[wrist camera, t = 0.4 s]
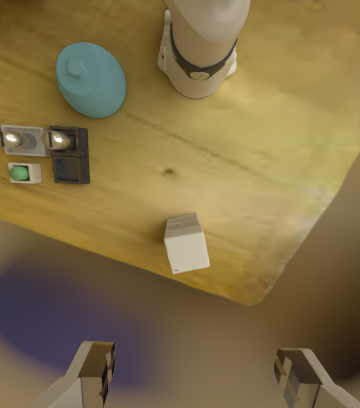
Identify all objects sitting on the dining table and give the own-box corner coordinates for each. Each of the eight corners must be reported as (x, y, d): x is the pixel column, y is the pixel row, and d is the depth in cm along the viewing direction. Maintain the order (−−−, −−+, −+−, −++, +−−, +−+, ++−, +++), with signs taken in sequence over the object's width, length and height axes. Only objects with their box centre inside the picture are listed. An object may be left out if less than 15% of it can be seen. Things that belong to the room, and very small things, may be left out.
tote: (8, 126, 50) (0, 124, 48) (48, 128, 51) (42, 127, 48) (12, 154, 52) (5, 154, 50) (50, 156, 52) (45, 156, 50)
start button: (16, 165, 51) (8, 166, 48) (30, 166, 51) (22, 167, 48) (18, 179, 52) (10, 180, 49) (31, 179, 52) (24, 181, 49)
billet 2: (61, 133, 50) (39, 129, 42) (77, 134, 50) (58, 130, 42) (62, 149, 51) (41, 148, 43) (78, 150, 51) (60, 149, 43)
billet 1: (19, 132, 50) (-10, 128, 43) (35, 133, 51) (9, 129, 43) (22, 148, 51) (-7, 147, 44) (37, 149, 51) (12, 149, 44)
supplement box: (202, 240, 59) (211, 268, 44) (173, 246, 59) (171, 275, 44) (197, 211, 56) (203, 231, 42) (166, 217, 57) (162, 239, 42)
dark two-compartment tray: (55, 127, 51) (46, 124, 47) (87, 129, 51) (80, 127, 47) (60, 181, 54) (52, 183, 50) (89, 183, 54) (83, 185, 51)
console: (17, 162, 53) (7, 162, 50) (40, 163, 53) (32, 164, 50) (19, 180, 54) (10, 182, 51) (42, 182, 54) (34, 183, 51)
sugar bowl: (74, 122, 50) (45, 113, 39) (60, 55, 47) (23, 24, 36) (132, 116, 50) (119, 105, 39) (122, 48, 47) (105, 14, 35)
